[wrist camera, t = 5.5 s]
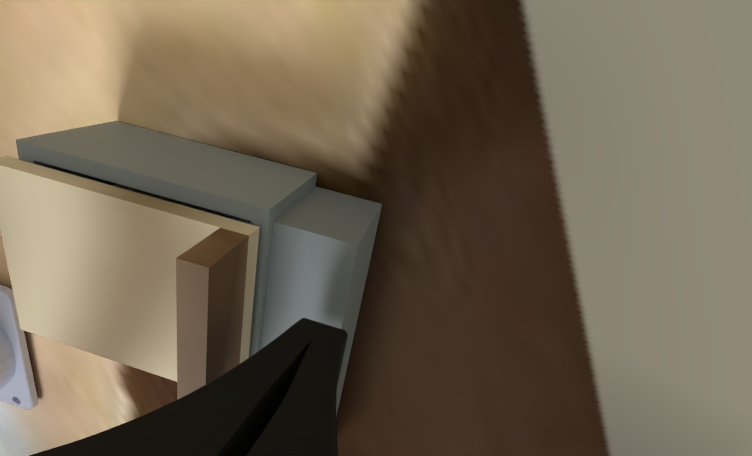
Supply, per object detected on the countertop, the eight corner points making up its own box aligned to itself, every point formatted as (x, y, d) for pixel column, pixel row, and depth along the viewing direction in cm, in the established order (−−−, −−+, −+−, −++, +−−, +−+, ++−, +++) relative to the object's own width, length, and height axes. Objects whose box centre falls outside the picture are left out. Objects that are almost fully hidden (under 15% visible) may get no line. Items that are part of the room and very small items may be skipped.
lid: (37, 319, 15) (-38, 364, 13) (6, 156, 12) (-94, 178, 10) (245, 388, 14) (203, 450, 12) (259, 226, 11) (208, 268, 9)
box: (134, 377, 21) (67, 440, 18) (116, 121, 16) (15, 139, 12) (330, 443, 20) (300, 525, 16) (385, 190, 14) (357, 233, 11)
